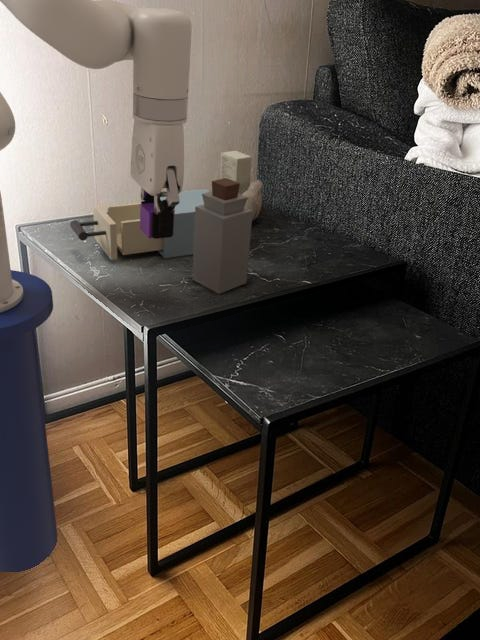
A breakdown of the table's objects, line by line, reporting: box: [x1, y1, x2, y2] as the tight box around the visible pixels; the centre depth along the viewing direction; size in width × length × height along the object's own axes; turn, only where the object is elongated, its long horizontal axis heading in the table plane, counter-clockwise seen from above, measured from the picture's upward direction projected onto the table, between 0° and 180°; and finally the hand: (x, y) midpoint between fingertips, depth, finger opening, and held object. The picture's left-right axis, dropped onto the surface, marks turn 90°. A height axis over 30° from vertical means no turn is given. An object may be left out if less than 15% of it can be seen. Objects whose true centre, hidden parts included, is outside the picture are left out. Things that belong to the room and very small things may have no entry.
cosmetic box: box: [219, 150, 253, 194], centre depth 139 cm, size 6×4×12 cm
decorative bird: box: [241, 179, 266, 222], centre depth 132 cm, size 5×16×8 cm, turn 163°
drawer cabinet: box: [143, 188, 211, 259], centre depth 120 cm, size 14×12×9 cm
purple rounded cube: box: [140, 203, 174, 238], centre depth 93 cm, size 4×4×4 cm
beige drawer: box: [69, 202, 163, 261], centre depth 114 cm, size 18×10×7 cm, turn 118°
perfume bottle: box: [192, 178, 253, 295], centre depth 104 cm, size 7×7×18 cm
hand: (156, 230), depth 94 cm, fingers closed on purple rounded cube, 4 cm apart
